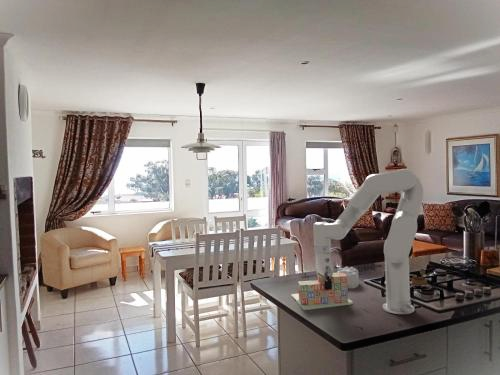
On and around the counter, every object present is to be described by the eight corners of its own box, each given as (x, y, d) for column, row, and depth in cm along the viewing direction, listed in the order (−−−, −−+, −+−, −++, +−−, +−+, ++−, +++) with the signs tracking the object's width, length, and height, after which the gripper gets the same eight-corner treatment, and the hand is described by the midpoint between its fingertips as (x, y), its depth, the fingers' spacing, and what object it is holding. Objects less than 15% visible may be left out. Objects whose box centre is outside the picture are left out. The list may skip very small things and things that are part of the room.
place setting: (396, 286, 193) (396, 275, 193) (421, 279, 203) (420, 268, 203) (427, 295, 178) (427, 282, 178) (452, 286, 188) (452, 275, 188)
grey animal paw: (335, 286, 196) (334, 270, 196) (342, 280, 207) (341, 264, 207) (355, 289, 191) (354, 272, 190) (361, 281, 202) (360, 265, 202)
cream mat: (343, 296, 180) (342, 294, 180) (296, 302, 176) (296, 300, 176) (335, 291, 189) (335, 289, 189) (291, 296, 185) (291, 294, 185)
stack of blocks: (301, 305, 168) (299, 278, 168) (298, 300, 175) (297, 274, 174) (348, 302, 169) (347, 275, 169) (344, 298, 175) (343, 271, 175)
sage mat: (353, 304, 170) (352, 301, 170) (304, 310, 165) (304, 307, 165) (344, 297, 179) (344, 295, 179) (297, 303, 174) (297, 301, 174)
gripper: (338, 252, 163) (340, 291, 164) (323, 245, 180) (324, 280, 181) (321, 253, 162) (323, 293, 163) (308, 246, 179) (309, 282, 180)
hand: (324, 286), depth 172 cm, fingers open, 9 cm apart
